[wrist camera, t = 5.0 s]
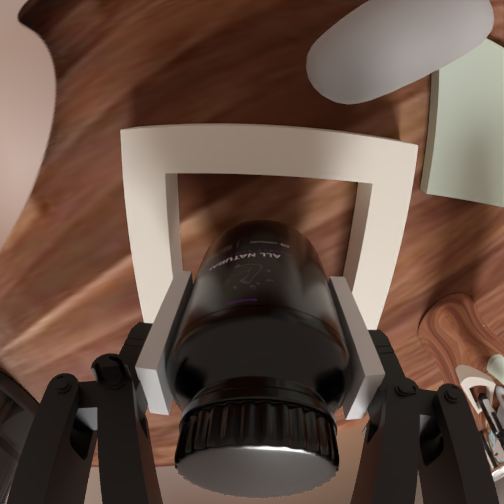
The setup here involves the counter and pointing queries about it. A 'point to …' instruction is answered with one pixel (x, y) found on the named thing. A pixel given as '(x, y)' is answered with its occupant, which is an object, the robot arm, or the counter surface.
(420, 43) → the donut
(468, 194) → the mat
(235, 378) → the supplement bottle
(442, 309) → the beer glass
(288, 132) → the holder
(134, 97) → the counter surface
